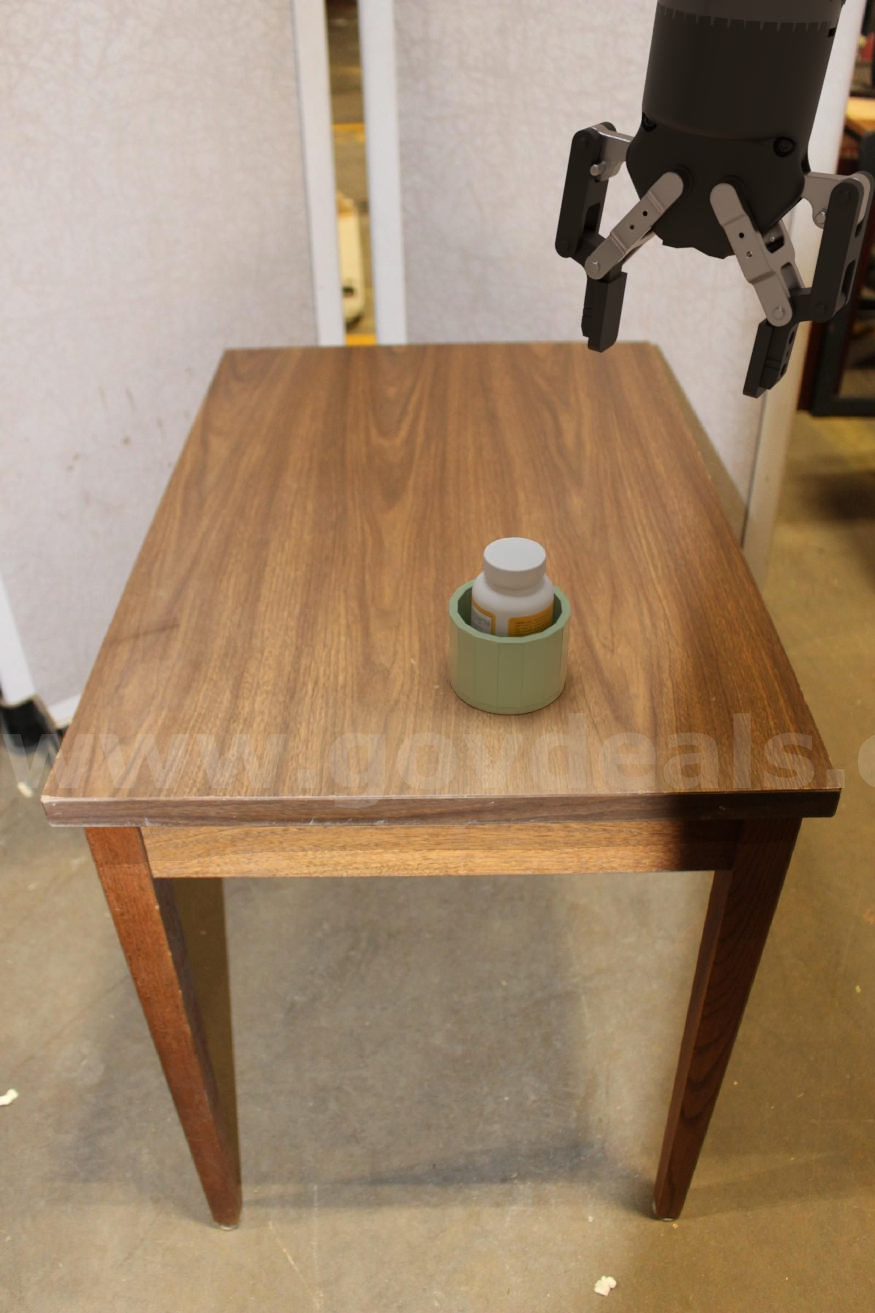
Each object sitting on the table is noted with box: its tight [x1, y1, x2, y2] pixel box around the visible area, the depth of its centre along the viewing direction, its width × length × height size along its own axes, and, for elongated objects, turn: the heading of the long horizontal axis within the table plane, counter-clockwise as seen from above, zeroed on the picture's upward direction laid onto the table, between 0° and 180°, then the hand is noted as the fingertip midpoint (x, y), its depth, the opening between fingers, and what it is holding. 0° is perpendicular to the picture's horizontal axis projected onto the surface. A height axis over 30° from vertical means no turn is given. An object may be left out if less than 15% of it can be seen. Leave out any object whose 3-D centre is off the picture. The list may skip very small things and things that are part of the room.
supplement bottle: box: [471, 536, 554, 637], centre depth 70 cm, size 5×5×10 cm
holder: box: [448, 577, 572, 716], centre depth 72 cm, size 8×8×6 cm
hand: (676, 368), depth 54 cm, fingers open, 8 cm apart
